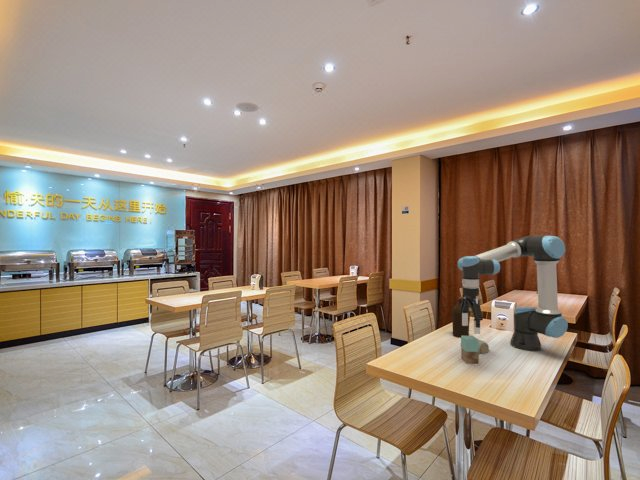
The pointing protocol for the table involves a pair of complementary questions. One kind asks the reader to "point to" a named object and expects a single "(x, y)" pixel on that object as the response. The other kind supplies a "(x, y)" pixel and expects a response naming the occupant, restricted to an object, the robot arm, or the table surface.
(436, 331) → the table surface
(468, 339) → the teal block
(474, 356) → the walnut block
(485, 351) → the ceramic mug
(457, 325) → the olive oil
